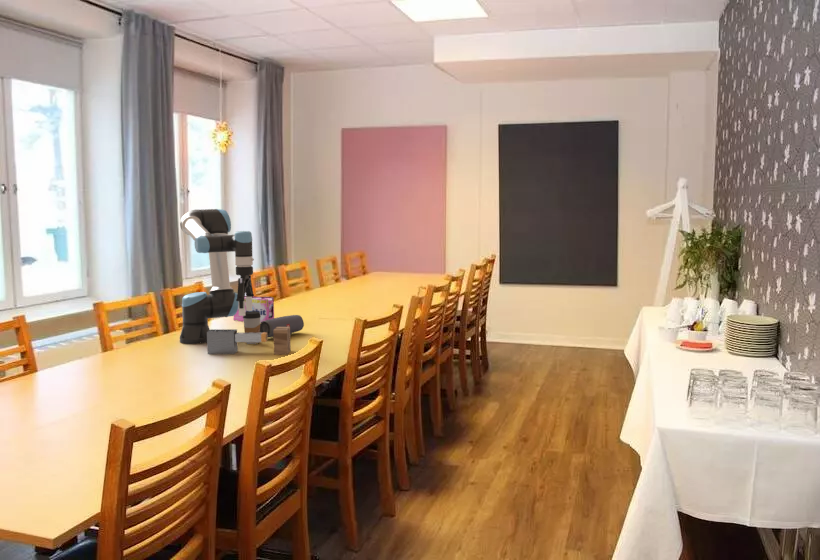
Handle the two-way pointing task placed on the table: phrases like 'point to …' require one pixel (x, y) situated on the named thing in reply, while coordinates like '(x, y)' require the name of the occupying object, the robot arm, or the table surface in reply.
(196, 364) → the table surface
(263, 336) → the orange-tipped grey stick
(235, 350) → the grey rectangular block
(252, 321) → the coffee cup
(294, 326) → the bluetooth speaker
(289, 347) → the socket
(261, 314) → the gum box
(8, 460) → the table surface
